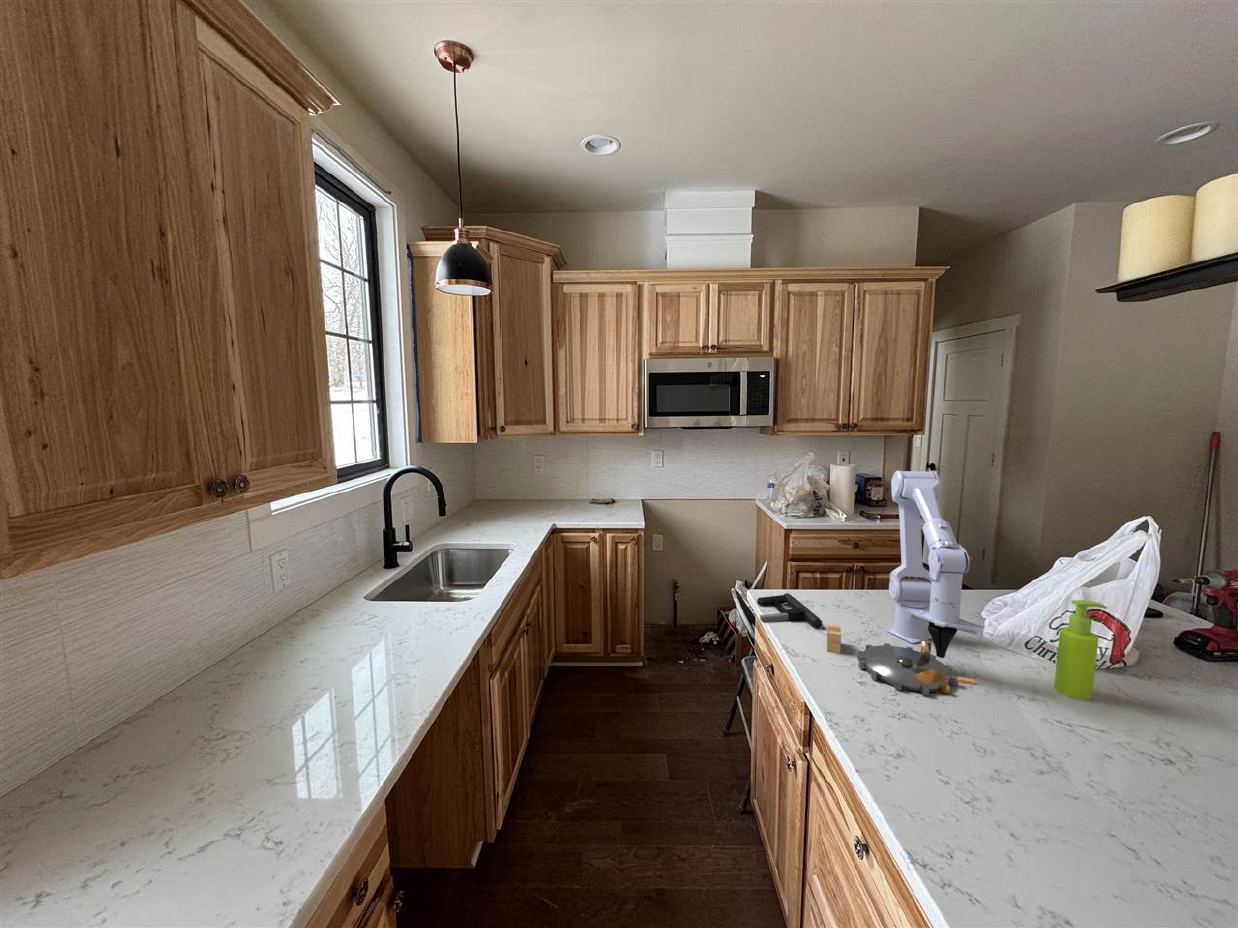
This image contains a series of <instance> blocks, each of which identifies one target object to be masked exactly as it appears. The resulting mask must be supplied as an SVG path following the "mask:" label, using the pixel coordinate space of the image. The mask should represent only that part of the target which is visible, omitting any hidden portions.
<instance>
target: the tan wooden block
mask: <svg viewBox="0 0 1238 928" xmlns="http://www.w3.org/2000/svg"><path fill="white" fill-rule="evenodd" d="M826 624H827V625H826V627H827V628H826V652H828V653H835V654H837V655H838V654H841V645H842V643H841V641H842V631H841V625H840V624H836V623H831V622H830V623H829V622H827V623H826Z"/></svg>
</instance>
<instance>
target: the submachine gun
mask: <svg viewBox="0 0 1238 928" xmlns="http://www.w3.org/2000/svg"><path fill="white" fill-rule="evenodd" d="M756 602H757V604H758V606H761V607H769V606H773V607H774V608H775V609H776V610H777V611H778V613H777V612H775V613H769V614H768V613H767V614H761V615H759V621H761V623H772V622H774V623H775V622H783V621H785V622H786V621H788V622H790V623H791V622H793V623H794V622H807V623H808V624H810V626H811V627H814V628H815V629H816V628H817V629H819V628H821V627H822V625H823V620H821V618H820V617H819V616H818V615H816V613H815V612H813V611H812V610H810V609H809V608H808V607H806V606H805V605H804V604H803V603H802V602H801V601H799V599H797V598H796V597H794V596H793V595H792V594H790V593H788V592H787V593H784V594H781V595H770V596H764V597H761V596H760V597H758V598H757V600H756ZM785 606H788V607H790V608H785Z"/></svg>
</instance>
